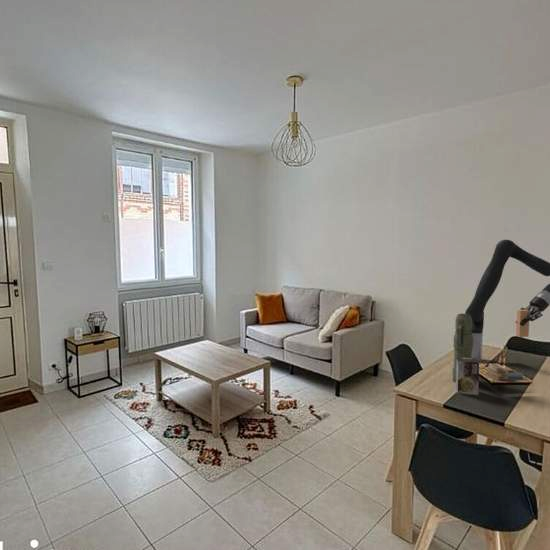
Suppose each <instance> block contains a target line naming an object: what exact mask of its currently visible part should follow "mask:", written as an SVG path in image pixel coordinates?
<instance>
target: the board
mask: <svg viewBox="0 0 550 550" xmlns="http://www.w3.org/2000/svg"><path fill="white" fill-rule="evenodd" d="M528 312H529V310H520V309H517V310H516V321H517V323H516V331H515V332H516V333H515V335H516V337H519V338H525V337H526V338H527V337H529V335H530V334H529V333H530V321H528V322H527V323H526V324H525V325H524V326H521V325H520V322H521V321H522V320H523V319H524V318H525V317H526V316H527V313H528Z"/></svg>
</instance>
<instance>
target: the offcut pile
mask: <svg viewBox="0 0 550 550" xmlns="http://www.w3.org/2000/svg"><path fill="white" fill-rule="evenodd" d="M505 370H506V368H505V367H504V366H503V365H501V364H499V363H497V362H496V363H492V362H491V363H488V367H487V370H486V371H487V372H486V373H487V374H488V375H490V376H492V377H493V378H492V377H491V378H492V379H494V378H495V379H497V380H508V376H509V372H508V371H505ZM488 375H487V376H488ZM490 376H489V377H490ZM495 379H494V380H495ZM497 380H496V381H497Z"/></svg>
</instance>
